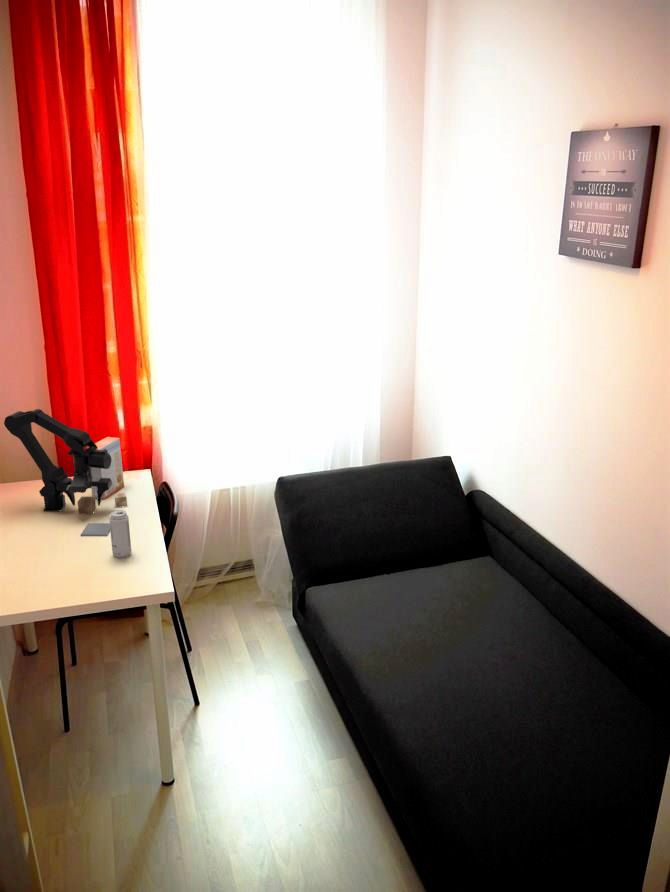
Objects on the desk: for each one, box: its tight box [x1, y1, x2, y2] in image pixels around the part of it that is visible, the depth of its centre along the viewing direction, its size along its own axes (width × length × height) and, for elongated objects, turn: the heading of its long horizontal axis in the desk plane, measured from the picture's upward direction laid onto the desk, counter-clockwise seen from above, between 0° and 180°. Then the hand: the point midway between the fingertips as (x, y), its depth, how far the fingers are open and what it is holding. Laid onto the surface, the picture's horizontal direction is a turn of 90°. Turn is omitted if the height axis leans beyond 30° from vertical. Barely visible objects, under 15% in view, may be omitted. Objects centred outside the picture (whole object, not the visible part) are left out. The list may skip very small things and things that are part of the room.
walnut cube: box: [77, 496, 97, 515], centre depth 277 cm, size 5×5×5 cm
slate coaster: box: [80, 522, 111, 537], centre depth 263 cm, size 9×9×1 cm
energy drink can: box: [108, 509, 132, 559], centre depth 244 cm, size 6×6×15 cm
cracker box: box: [90, 436, 125, 500], centre depth 292 cm, size 14×6×21 cm, turn 162°
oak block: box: [113, 492, 128, 508], centre depth 283 cm, size 4×4×4 cm
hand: (86, 505), depth 277 cm, fingers open, 9 cm apart
